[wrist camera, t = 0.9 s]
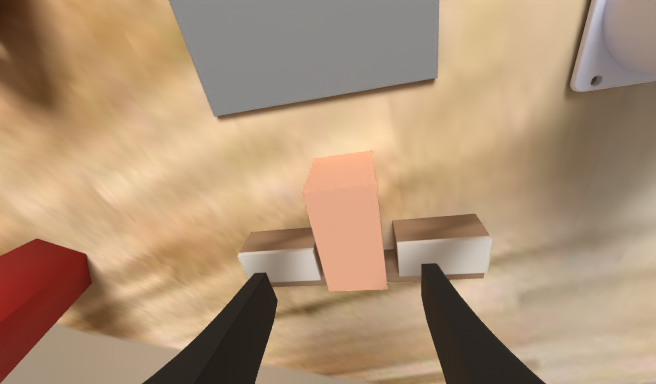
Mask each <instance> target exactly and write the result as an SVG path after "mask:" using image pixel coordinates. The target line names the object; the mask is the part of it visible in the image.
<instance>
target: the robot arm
mask: <svg viewBox="0 0 656 384" xmlns="http://www.w3.org/2000/svg"><path fill="white" fill-rule="evenodd" d="M595 76H597V79H596V81H595V82H594V83H593V84H591V80H592V79H593V78H594V77H595ZM653 81H656V0H592V1H591V5H590V8H589V12H588V16H587V20H586V24H585V28H584V32H583V36H582V40H581V44H580V47H579V51H578V55H577V59H576V63H575V67H574V71H573V75H572V79H571V83H570V87H571V89H572V90H573V91H576V92H587V91H593V90H600V89H607V88H613V87H620V86H627V85H633V84H640V83H647V82H653ZM421 296H422V301H423V306H424V310H425V315H426V320H427V323H428V326H429V329H430V333H431V336H432V339H433V342H434V345H435V348H436V351H437V355H438V358H439V361H440V364H441V367H442V370H443V374H444V377H445V380H446V384H546V383H544V382H543V381H542V380H541V379H540V378H539V377H538V376H536V375H535V374H534V373H533V372H532V371H531V370H530V369H529V368H527V367H526V366H525V365H524V364H523V363H522V362H521V361H520V360H519V359H518V358H517V357H516V356H515V355H514V354H513V353H512V352H511V351H510V350H509V349H508V348H507V347H506V346H505V345H504V344H503V343H502V342H501V341H500V340H499V339H498V338H497V337H496V336H495V335H494V334H493V333H492V332H491V331H490V330H489V329H488V328H487V326H486V325H485V324H484V323H483V322H482V321H481V320H480V319H479V318H478V316H477V315H476V314H475V313H474V312H473V311H472V309H471V308H470V307H469V306H468V305H467V303H466V302H465V301H464V300H463V298H462V297H461V296H460V295H459V293H458V292H457V291H456V289H455V288H454V287H453V285H452V284H451V283H450V281H449V280H448V279H447V277H446V276H445V274H444V273H443V271H442V270H441V268H440V267H439V265H438V264H436V263H429V264H421ZM277 301H278V300H277V298H276V295H275V293H274V290H273V288H272V286H271V283H270V281H269V278H268V276H267V273H266V272H264V273H254V274H253V275H252V276H251V278H250V279H249V280H248V281H247V282H246V283H245V285H244V286H243V287H242V288H241V289H240V290H239V292H238V293H237V294H236V295H235V296H234V297H233V299H232V300H231V301H230V302H229V303H228V304H227V305H226V307H225V308H224V309H223V310H222V311H221V312H220V313H219V314H218V315H217V316H216V318H215V319H214V320H213V321H212V322H211V323H210V324H209V325H208V326H207V327H206V328H205V329H204V330H203V331H202V332H201V333H200V334H199V335H198V336H197V337H196V338H195V339H194V340H193V341H192V342H191V343H190V344H189V345H188V346H187V347H186V348H184V349H183V350H182V351H181V352H180V353H179V354H178V355H177V356H176V357H174V358H173V359H172V360H171V361H170V362H168V363H167V364H166V365H165V366H164V367H163V368H161V369H160V370H159V371H158V372H157V373H155V374H154V375H153V376H152V377H150V378H149V379H148V380H146V381H145V382H144V383H143V384H255V381H256V377H257V374H258V370H259V367H260V364H261V361H262V358H263V355H264V351H265V348H266V345H267V342H268V339H269V336H270V332H271V329H272V326H273V322H274V318H275V313H276V307H277Z"/></svg>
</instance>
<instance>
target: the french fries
mask: <svg viewBox="0 0 656 384" xmlns="http://www.w3.org/2000/svg"><path fill="white" fill-rule="evenodd" d="M90 284H91V278H90V274H89V269H88V264H87V259H86V254H84V253H81V252H78V251H74V250H71V249H68V248H65V247H62V246H58V245H55V244H52V243H49V242H46V241H42V240H39V239H35V240H33V241H30V242H28V243H26V244H24V245H22V246H20V247H18V248H16V249H14V250H12V251H10V252H8V253H6V254H4V255H2V256H0V383H1V382H2V381H3V380H4V379H5V377H6V376H7V375H8V374H9V373H10V372H11V371H12V370H13V369H14V368H15V367H16V365H17V364H18V363H19V362H20V361H21V360H22V359H23V358H24V357H25V356H26V354H27V353H28V352H29V351H30V350H31V349H32V348H33V347H34V346H35V345H36V343H37V342H38V341H39V340H40V339H41V338H42V337H43V336H44V335H45V333H47V331H48V330H49V329H50V328H51V327H52V326H53V325H54V324H55V323H56V322H57V321H58V319H59V318H60V317H61V316H62V315H63V314H64V313H65V312H66V311H67V310H68V309H69V307H70V306H71V305H72V304H73V303H74V302H75V301H76V300H77V299H78V298H79V296H80V295H81V294H82V293H83V292H84V291H85V290H86V289H87V288H88V287H89V286H90Z"/></svg>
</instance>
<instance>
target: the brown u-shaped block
mask: <svg viewBox="0 0 656 384" xmlns="http://www.w3.org/2000/svg"><path fill="white" fill-rule="evenodd" d="M393 233H394V247H395V250H383V251H384V260H385V269H386V278H387V282H403V281H421V264H429V263H436V264H438V265H439V267H440V268H441V270H442V271H443V273H444V274H445V276H446V277H447V279H448V280H451V279H475V278H483V277H484V273H487V271H488V265H489V259H490V253H491V247H492V241H493V239H492V238H491V236H490V235H489V234H488V232H487V231H486V229H485V228H484V226H483V225H482V223H481V222H480V220H479V219H478V217H477V216H476V214H469V215H457V216H445V217H433V218H421V219H409V220H397V221H393ZM237 257H238V259H239V261H240V263H241V265H242V267H243V269H244V272H245V274H246V276H247V278H248V280H249V279H250V278H251V276H252V275H253V274H254V273H264V272H266V273H267V276H268V278H269V281H270V283H271V286H272V287H283V286H307V285H327V282H326V279H325V275H324V271H323V268H322V264H321V260H320V257H319V253H318V249H317V246H316V242H315V238H314V235H313V231H312V228H300V229H288V230H276V231H264V232H252V233H250V235H249V237H248V239H247V241H246V242H245V244H244V246H243V248H242V249H241V251H240V253H239V255H238V256H237Z"/></svg>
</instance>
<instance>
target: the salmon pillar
mask: <svg viewBox="0 0 656 384" xmlns="http://www.w3.org/2000/svg"><path fill="white" fill-rule="evenodd" d="M302 194H303V198H304V202H305V205H306V209H307V213H308V216H309V220H310V224H311V227H312V231H313V235H314V238H315V242H316V246H317V249H318V253H319V257H320V260H321V264H322V268H323V271H324V275H325V279H326V282H327V286H328V290H329V292H334V291H358V290H381V289H388V287H387V278H386V269H385V260H384V251H383V242H382V233H381V224H380V215H379V206H378V197H377V188H376V179H375V171H374V163H373V155H372V151H365V152H357V153H350V154H343V155H336V156H329V157H322V158H315V160H314V163H313V165H312V168H311V171H310V173H309V176H308V179H307V181H306V184H305V187H304V189H303V192H302Z"/></svg>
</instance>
